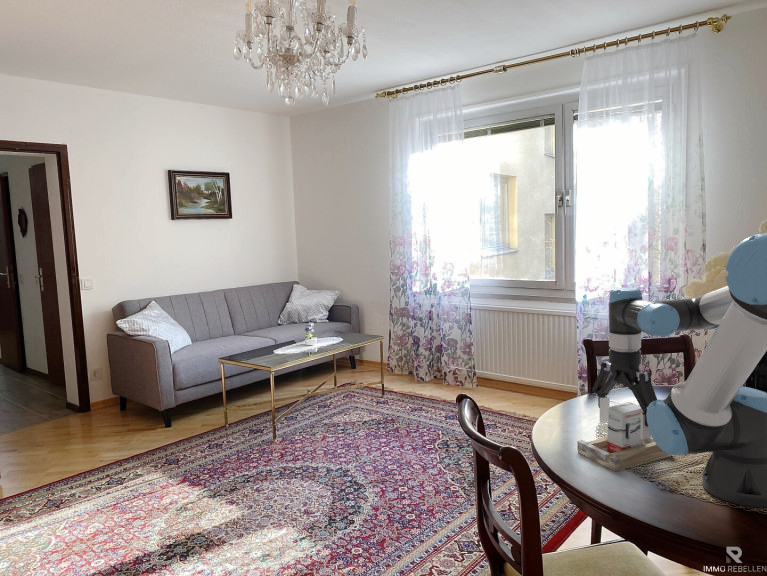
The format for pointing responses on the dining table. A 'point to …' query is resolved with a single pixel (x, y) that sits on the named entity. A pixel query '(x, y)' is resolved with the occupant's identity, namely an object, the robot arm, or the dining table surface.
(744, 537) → the dining table surface
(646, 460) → the wooden tray
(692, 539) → the dining table surface
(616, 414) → the ink box
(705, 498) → the dining table surface
